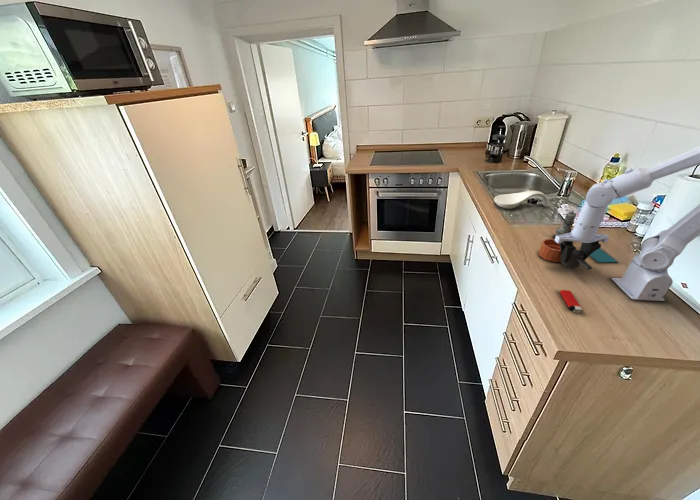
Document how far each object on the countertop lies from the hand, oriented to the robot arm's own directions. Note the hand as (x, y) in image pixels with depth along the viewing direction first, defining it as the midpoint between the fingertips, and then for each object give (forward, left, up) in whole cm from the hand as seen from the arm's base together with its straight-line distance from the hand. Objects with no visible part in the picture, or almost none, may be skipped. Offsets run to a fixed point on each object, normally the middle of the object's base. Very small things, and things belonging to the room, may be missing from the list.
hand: (571, 260), depth 93 cm
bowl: (+7, +3, -3) cm, 8 cm away
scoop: (-2, 0, -1) cm, 3 cm away
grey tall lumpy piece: (+20, -6, -3) cm, 21 cm away
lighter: (-17, +8, -3) cm, 19 cm away
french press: (+129, -10, -3) cm, 129 cm away
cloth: (+8, -13, -3) cm, 16 cm away
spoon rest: (+51, -1, -3) cm, 51 cm away
